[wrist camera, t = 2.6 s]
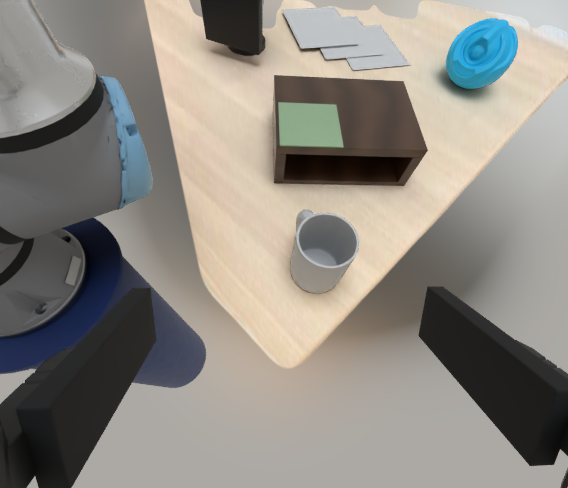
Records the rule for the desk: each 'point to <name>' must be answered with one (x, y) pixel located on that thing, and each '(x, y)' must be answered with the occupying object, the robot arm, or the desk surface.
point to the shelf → (344, 131)
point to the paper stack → (344, 38)
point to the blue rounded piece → (481, 53)
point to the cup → (322, 250)
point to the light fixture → (235, 24)
